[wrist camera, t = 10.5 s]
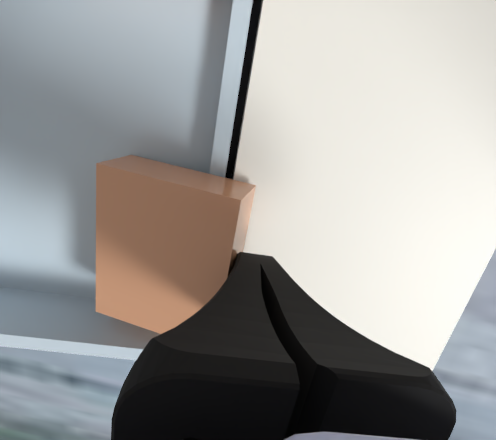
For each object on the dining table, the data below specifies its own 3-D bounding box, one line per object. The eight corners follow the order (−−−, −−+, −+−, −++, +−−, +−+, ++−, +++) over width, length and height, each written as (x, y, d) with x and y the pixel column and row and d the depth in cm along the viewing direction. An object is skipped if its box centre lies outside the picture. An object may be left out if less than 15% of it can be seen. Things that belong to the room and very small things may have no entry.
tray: (304, -329, 8) (338, -535, 6) (202, 317, 16) (196, 366, 13) (-216, -500, 7) (-498, -867, 4) (-58, 286, 15) (-126, 333, 12)
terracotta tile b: (256, 185, 12) (241, 200, 10) (229, 319, 14) (213, 352, 12) (131, 154, 13) (96, 163, 11) (125, 285, 15) (95, 311, 13)
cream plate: (695, -239, 9) (777, -297, 8) (413, 353, 17) (429, 376, 16) (322, -368, 8) (340, -461, 7) (207, 329, 16) (204, 352, 15)
